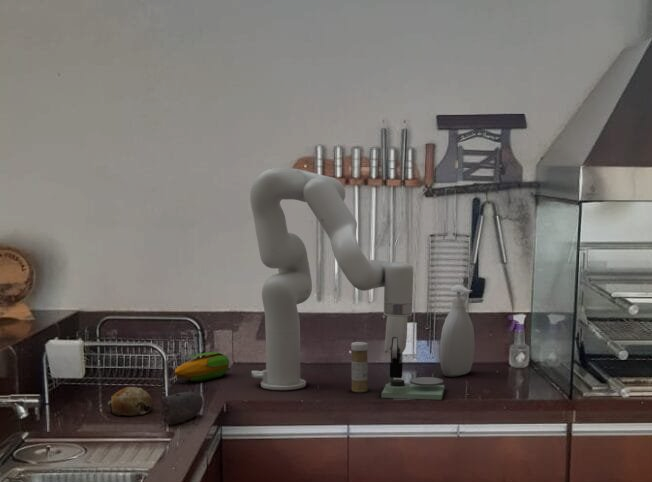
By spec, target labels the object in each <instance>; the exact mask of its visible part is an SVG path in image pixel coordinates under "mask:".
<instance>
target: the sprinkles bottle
mask: <svg viewBox="0 0 652 482" xmlns="http://www.w3.org/2000/svg"><path fill="white" fill-rule="evenodd" d="M350 350H351V389H350V390H351V391H352V392H353V393H367V392H368V389H369V388H368V375H369V373H368V372H369V371H368V369H369V368H368V367H369V366H368V365H369V364H368V362H369V361H368V351H369V343H368V342H365V341H354V342H351V344H350Z"/></svg>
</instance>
